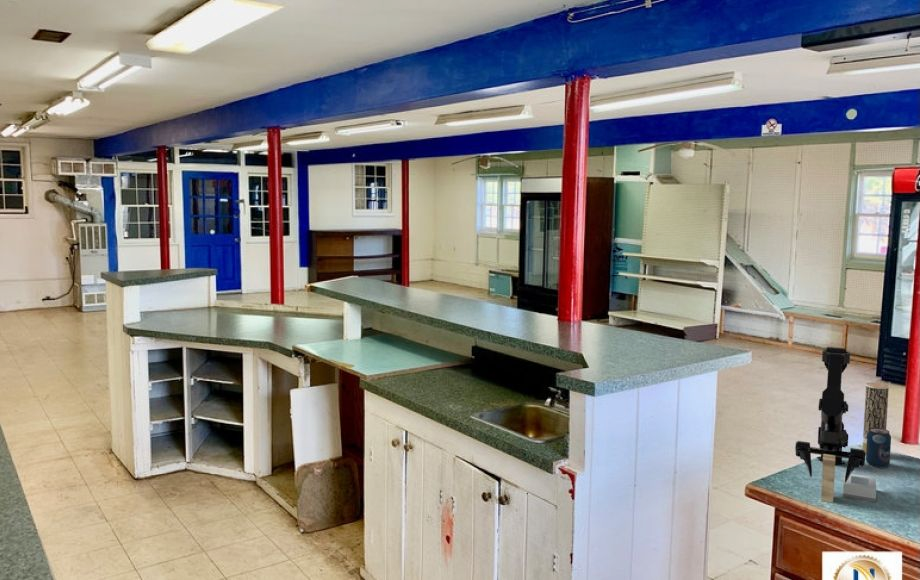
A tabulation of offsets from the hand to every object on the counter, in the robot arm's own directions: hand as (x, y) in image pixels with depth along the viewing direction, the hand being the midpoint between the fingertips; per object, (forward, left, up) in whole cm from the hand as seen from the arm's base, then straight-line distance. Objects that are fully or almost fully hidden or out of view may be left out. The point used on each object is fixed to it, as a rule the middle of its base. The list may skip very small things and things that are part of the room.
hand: (828, 478), depth 208 cm
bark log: (-31, +41, -7) cm, 52 cm away
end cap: (-3, +13, -7) cm, 15 cm away
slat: (-1, +1, -7) cm, 7 cm away
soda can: (-22, +35, -7) cm, 42 cm away
